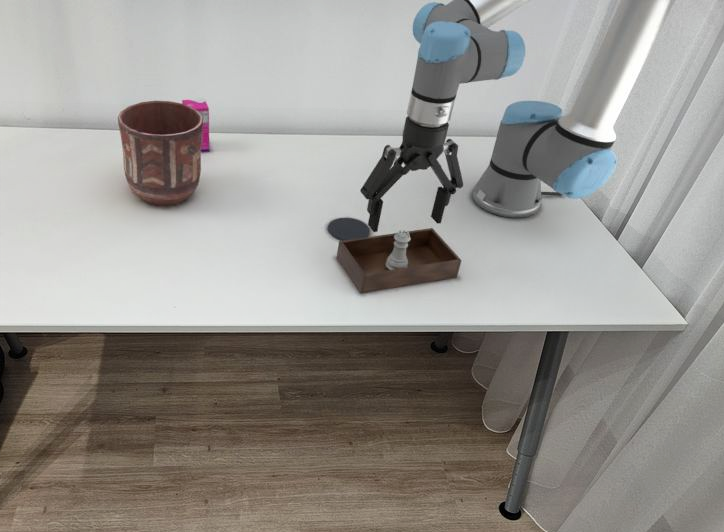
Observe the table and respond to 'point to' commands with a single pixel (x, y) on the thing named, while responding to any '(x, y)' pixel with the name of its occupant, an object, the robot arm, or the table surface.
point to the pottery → (161, 150)
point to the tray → (424, 265)
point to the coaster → (348, 229)
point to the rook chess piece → (399, 251)
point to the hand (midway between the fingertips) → (404, 224)
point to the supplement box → (204, 111)
